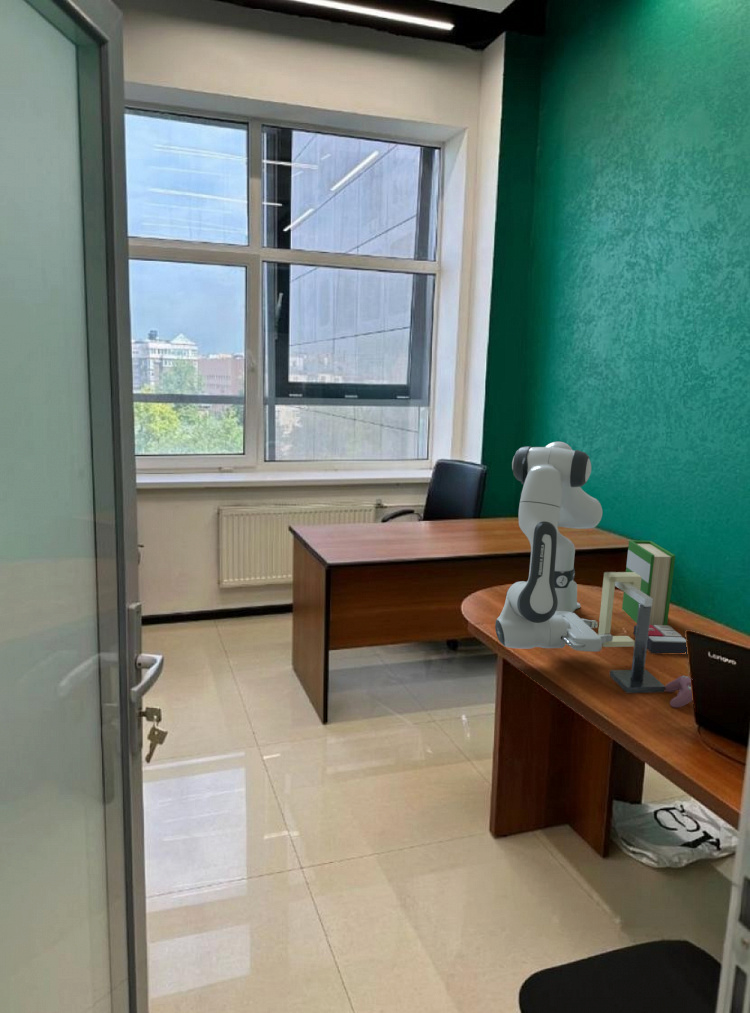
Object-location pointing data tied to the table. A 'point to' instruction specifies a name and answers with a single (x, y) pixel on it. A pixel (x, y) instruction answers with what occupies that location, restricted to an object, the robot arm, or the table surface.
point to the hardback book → (650, 579)
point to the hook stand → (638, 648)
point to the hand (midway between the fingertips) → (603, 630)
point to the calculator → (664, 640)
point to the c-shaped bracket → (608, 605)
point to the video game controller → (680, 691)
